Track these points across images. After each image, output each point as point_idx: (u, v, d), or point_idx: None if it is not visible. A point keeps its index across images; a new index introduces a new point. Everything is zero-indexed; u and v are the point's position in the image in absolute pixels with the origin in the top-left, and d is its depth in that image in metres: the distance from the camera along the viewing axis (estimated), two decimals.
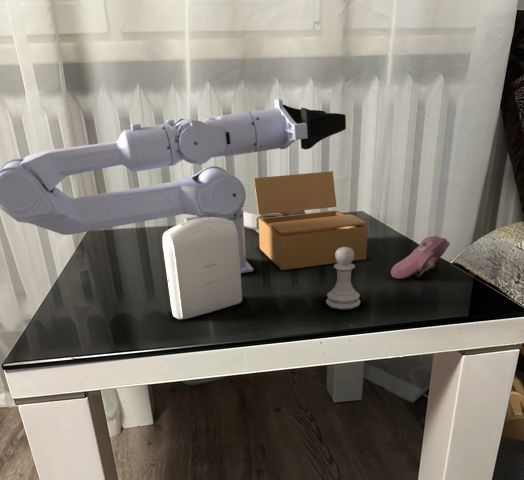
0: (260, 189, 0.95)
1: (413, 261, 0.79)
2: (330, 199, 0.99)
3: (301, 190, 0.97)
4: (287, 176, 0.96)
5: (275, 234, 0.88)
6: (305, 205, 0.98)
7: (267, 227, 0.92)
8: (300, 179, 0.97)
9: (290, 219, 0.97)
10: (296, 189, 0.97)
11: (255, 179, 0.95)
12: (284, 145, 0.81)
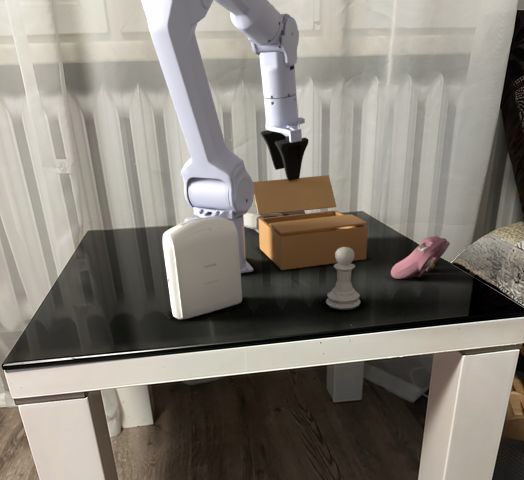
0: (258, 191, 0.97)
1: (413, 261, 0.79)
2: (329, 200, 0.99)
3: (299, 192, 0.98)
4: (284, 180, 0.98)
5: (275, 234, 0.88)
6: (304, 205, 0.98)
7: (267, 227, 0.92)
8: (297, 182, 0.99)
9: (290, 219, 0.97)
10: (294, 191, 0.98)
11: (253, 183, 0.97)
12: (273, 126, 0.94)
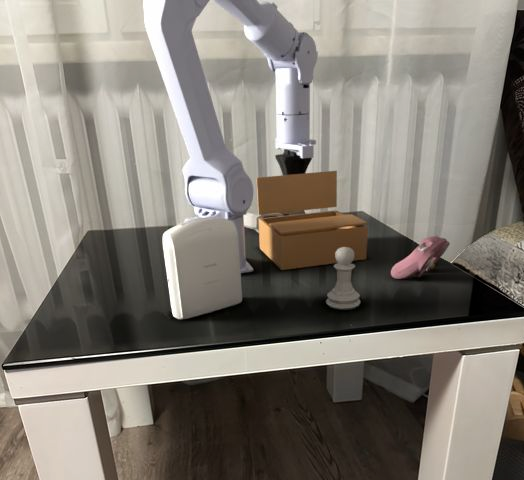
0: (262, 189, 0.94)
1: (413, 261, 0.79)
2: (331, 199, 0.98)
3: (303, 190, 0.96)
4: (290, 176, 0.95)
5: (275, 234, 0.88)
6: (305, 205, 0.98)
7: (267, 227, 0.92)
8: (303, 178, 0.96)
9: (290, 219, 0.97)
10: (298, 189, 0.96)
11: (258, 179, 0.93)
12: (284, 143, 0.92)
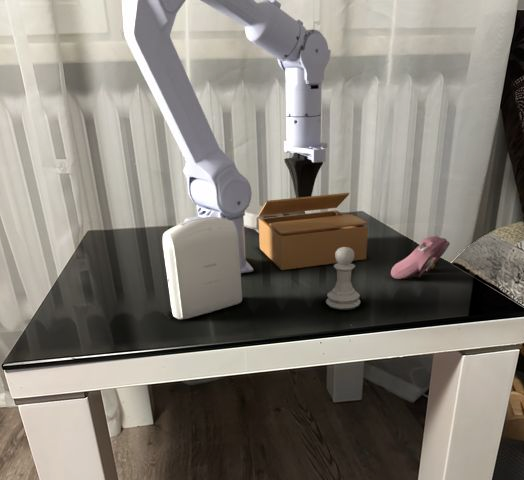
0: (269, 206, 0.92)
1: (413, 261, 0.79)
2: (333, 205, 0.98)
3: (309, 203, 0.94)
4: (301, 199, 0.91)
5: (275, 234, 0.88)
6: (307, 209, 0.97)
7: (267, 227, 0.92)
8: (313, 199, 0.93)
9: (290, 219, 0.97)
10: (304, 204, 0.94)
11: (267, 202, 0.90)
12: (295, 146, 0.88)
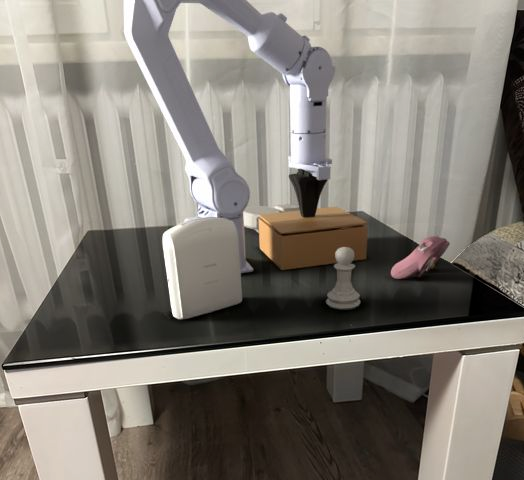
0: None
1: (413, 261, 0.79)
2: None
3: None
4: None
5: (275, 234, 0.88)
6: None
7: (267, 227, 0.92)
8: None
9: None
10: None
11: None
12: (299, 163, 0.87)
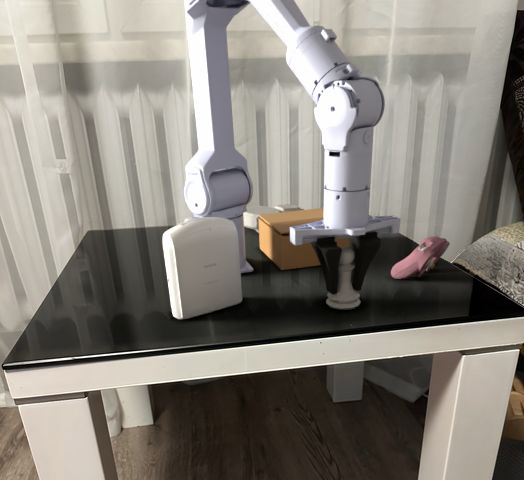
0: None
1: (413, 260, 0.79)
2: None
3: None
4: None
5: (275, 234, 0.88)
6: None
7: (267, 227, 0.92)
8: None
9: None
10: None
11: None
12: (323, 220, 0.71)
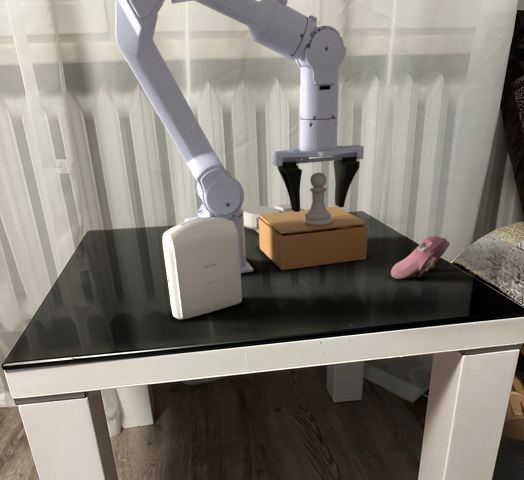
0: None
1: (413, 261, 0.79)
2: None
3: None
4: None
5: (275, 234, 0.88)
6: None
7: (267, 227, 0.92)
8: None
9: None
10: None
11: None
12: None
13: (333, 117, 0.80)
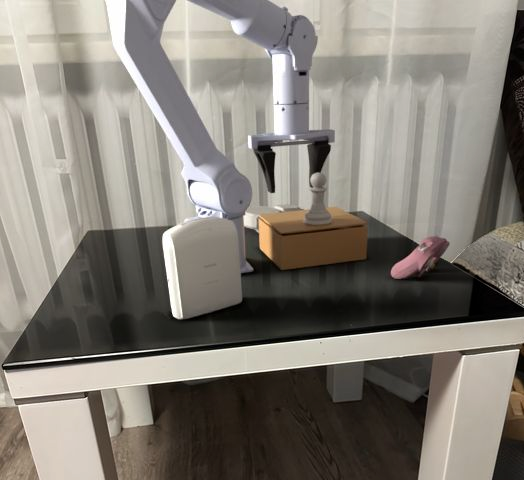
0: None
1: (413, 261, 0.79)
2: None
3: None
4: None
5: (275, 234, 0.88)
6: None
7: (267, 227, 0.92)
8: None
9: None
10: None
11: None
12: None
13: (304, 102, 0.85)
